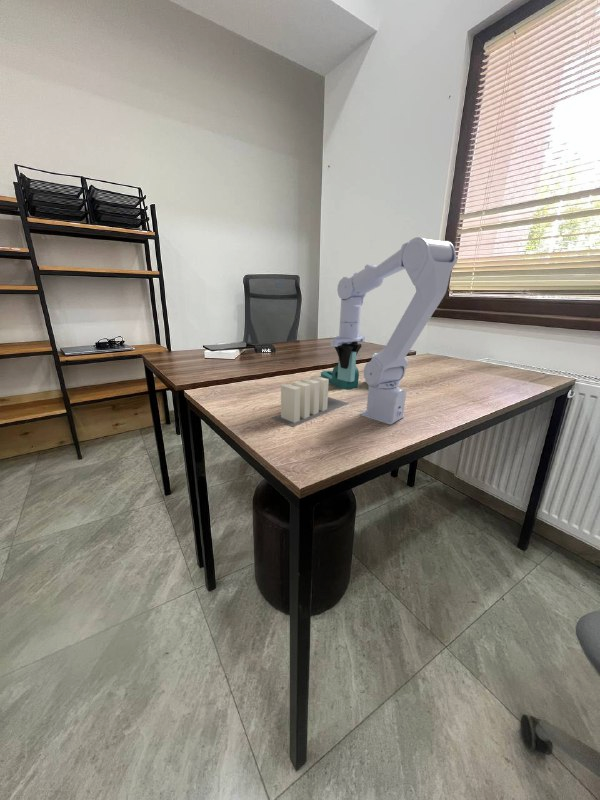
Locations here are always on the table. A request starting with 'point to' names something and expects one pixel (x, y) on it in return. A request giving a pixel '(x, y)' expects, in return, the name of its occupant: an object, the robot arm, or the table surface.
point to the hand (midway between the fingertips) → (346, 367)
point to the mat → (331, 406)
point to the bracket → (337, 382)
